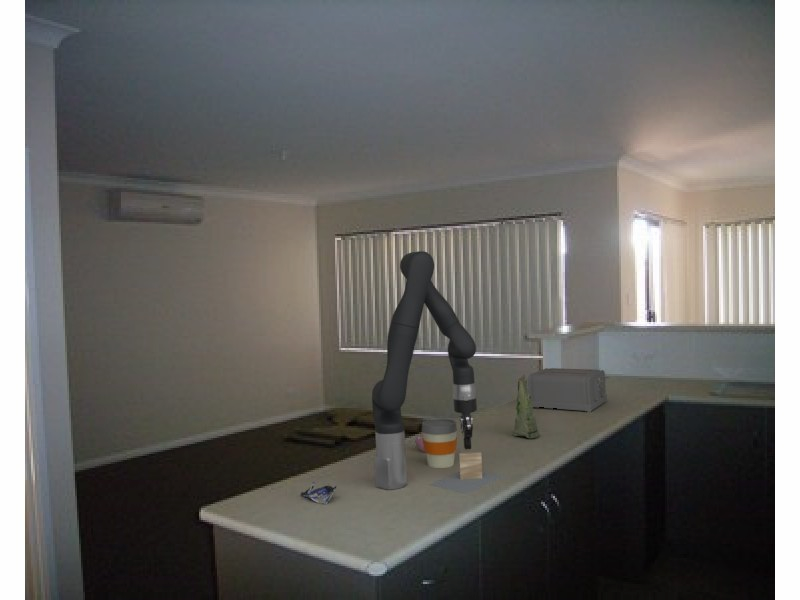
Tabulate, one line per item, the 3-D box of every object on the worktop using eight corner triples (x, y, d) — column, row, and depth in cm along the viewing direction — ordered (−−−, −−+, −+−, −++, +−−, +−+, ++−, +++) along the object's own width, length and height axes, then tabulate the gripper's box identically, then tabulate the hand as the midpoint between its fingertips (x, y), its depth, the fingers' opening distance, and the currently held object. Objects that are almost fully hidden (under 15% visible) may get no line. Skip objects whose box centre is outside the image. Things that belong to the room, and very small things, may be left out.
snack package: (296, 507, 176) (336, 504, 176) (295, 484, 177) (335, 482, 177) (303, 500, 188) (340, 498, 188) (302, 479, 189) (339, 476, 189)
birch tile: (482, 478, 193) (481, 453, 193) (460, 479, 193) (459, 454, 193) (481, 476, 195) (480, 451, 195) (459, 477, 195) (458, 452, 195)
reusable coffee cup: (417, 469, 208) (416, 425, 208) (429, 459, 220) (427, 418, 219) (452, 471, 203) (451, 427, 203) (463, 461, 215) (461, 419, 215)
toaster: (598, 413, 287) (597, 377, 287) (527, 408, 307) (526, 374, 307) (614, 402, 313) (613, 369, 313) (548, 398, 332) (547, 367, 332)
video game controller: (433, 450, 238) (426, 433, 240) (441, 446, 236) (434, 429, 238) (418, 456, 231) (411, 438, 233) (426, 452, 228) (419, 434, 230)
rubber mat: (467, 495, 179) (467, 493, 179) (428, 485, 189) (428, 484, 189) (504, 478, 194) (504, 476, 194) (466, 470, 204) (466, 469, 204)
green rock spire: (523, 441, 240) (520, 378, 240) (506, 435, 251) (503, 375, 251) (545, 437, 245) (543, 375, 244) (528, 431, 255) (525, 372, 255)
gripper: (451, 394, 207) (453, 444, 207) (456, 401, 194) (459, 454, 194) (472, 392, 208) (475, 443, 208) (479, 399, 194) (482, 453, 195)
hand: (467, 448), depth 201 cm, fingers closed
